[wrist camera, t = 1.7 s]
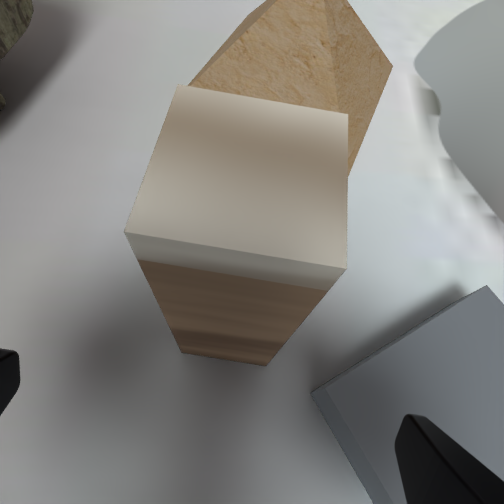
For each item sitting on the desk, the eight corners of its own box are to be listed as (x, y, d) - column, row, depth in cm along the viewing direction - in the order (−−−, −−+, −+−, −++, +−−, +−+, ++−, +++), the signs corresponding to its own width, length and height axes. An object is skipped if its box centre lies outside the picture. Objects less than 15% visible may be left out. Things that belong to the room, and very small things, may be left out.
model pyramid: (162, 115, 29) (138, -22, 20) (247, 16, 37) (256, -114, 28) (346, 189, 27) (408, 75, 18) (394, 69, 35) (454, -52, 26)
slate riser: (607, 487, 19) (672, 496, 16) (456, 647, 15) (506, 694, 13) (455, 301, 23) (486, 285, 20) (310, 393, 20) (324, 388, 17)
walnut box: (265, 366, 20) (346, 269, 8) (181, 352, 20) (123, 231, 7) (274, 287, 22) (348, 114, 10) (199, 275, 22) (177, 84, 10)
